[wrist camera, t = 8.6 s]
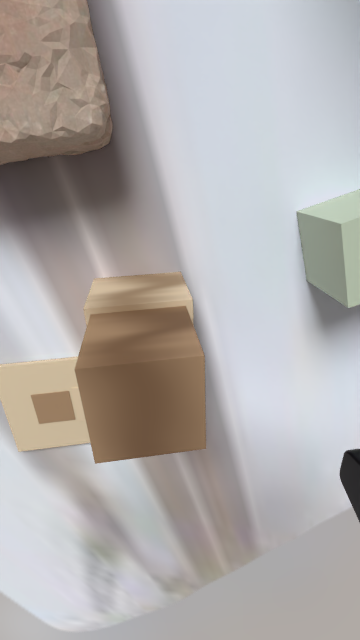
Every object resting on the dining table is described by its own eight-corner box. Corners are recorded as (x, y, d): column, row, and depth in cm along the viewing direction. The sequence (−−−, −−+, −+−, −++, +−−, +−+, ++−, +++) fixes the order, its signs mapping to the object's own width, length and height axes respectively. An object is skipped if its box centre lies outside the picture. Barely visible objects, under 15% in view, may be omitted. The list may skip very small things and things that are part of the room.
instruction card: (137, 350, 21) (137, 353, 21) (146, 432, 24) (147, 436, 24) (-9, 365, 20) (-11, 368, 20) (20, 448, 23) (18, 452, 23)
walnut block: (185, 305, 15) (204, 355, 11) (188, 382, 17) (206, 448, 13) (90, 314, 15) (74, 369, 11) (104, 392, 17) (95, 463, 13)
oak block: (180, 271, 19) (192, 299, 15) (183, 345, 21) (195, 386, 17) (94, 278, 19) (83, 308, 15) (106, 352, 21) (99, 397, 17)
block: (369, 185, 19) (435, 190, 14) (372, 257, 20) (431, 279, 16) (296, 211, 19) (341, 223, 15) (306, 280, 21) (348, 308, 17)
